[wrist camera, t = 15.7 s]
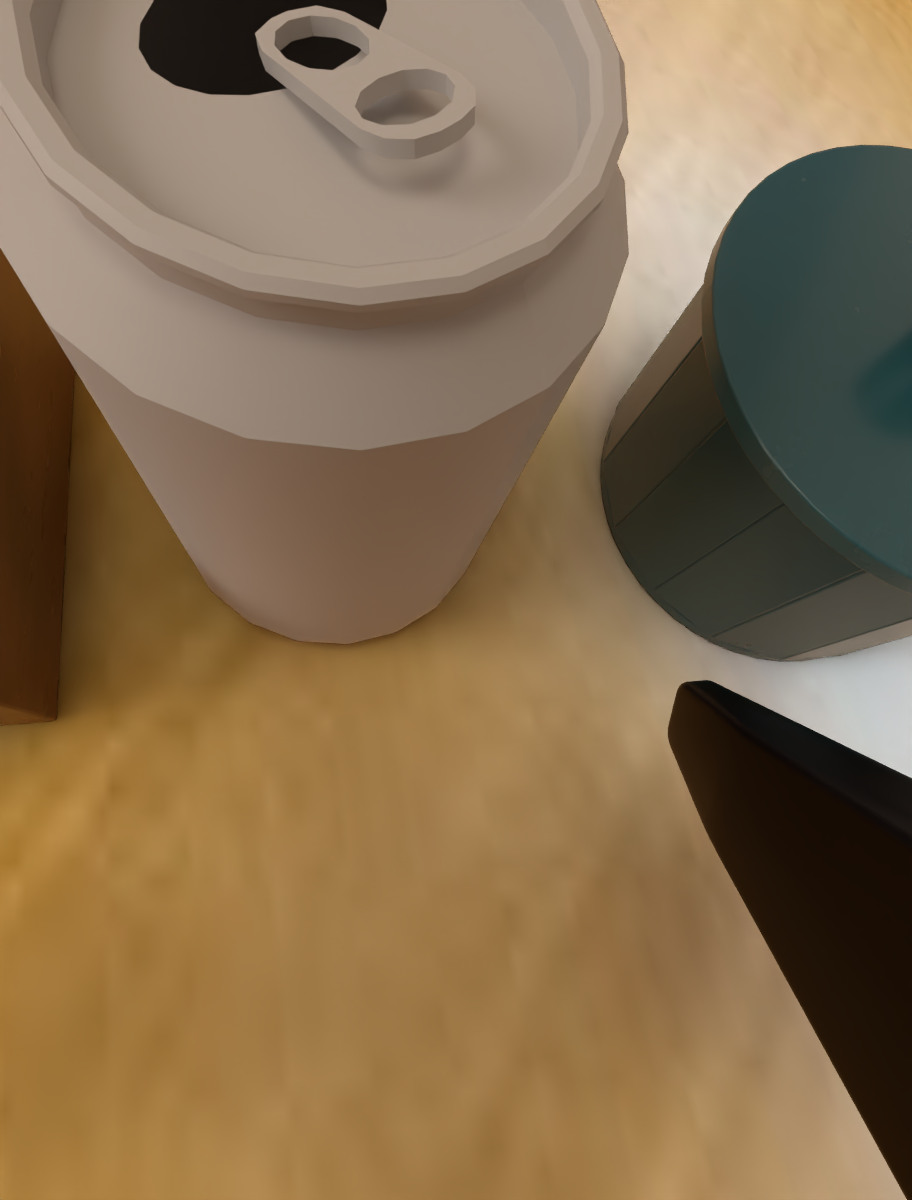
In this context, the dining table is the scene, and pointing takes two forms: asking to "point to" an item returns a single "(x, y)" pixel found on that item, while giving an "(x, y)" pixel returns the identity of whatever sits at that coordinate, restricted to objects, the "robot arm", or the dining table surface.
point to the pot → (727, 525)
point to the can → (318, 268)
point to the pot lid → (823, 346)
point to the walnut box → (31, 503)
